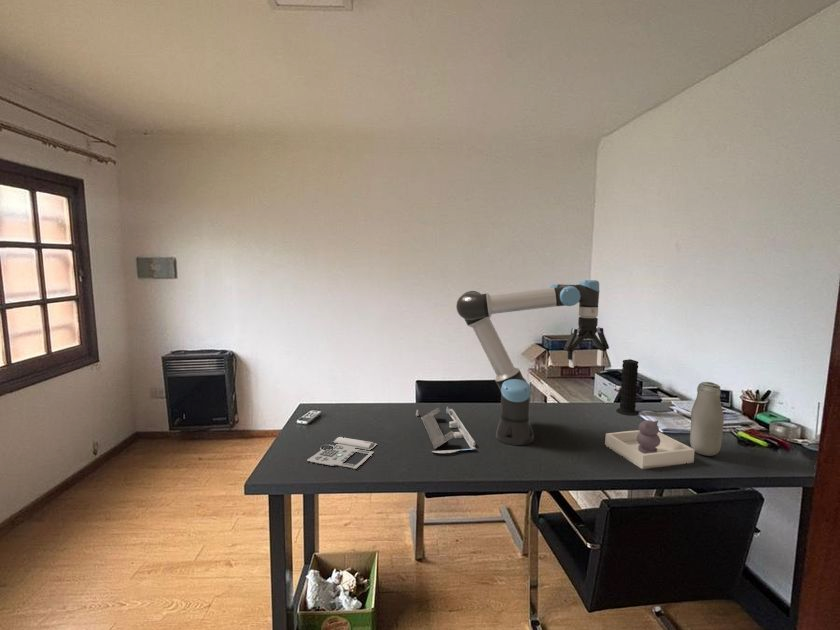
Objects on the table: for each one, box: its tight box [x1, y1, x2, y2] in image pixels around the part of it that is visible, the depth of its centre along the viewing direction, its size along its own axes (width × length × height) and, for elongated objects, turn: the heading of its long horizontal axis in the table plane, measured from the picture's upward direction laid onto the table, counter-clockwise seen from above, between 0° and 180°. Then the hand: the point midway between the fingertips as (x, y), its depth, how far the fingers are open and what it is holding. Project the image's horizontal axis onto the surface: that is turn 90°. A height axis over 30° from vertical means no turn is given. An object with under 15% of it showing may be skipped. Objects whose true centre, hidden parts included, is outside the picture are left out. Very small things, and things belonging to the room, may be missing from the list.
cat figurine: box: [636, 419, 660, 454], centre depth 159 cm, size 8×8×12 cm
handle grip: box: [615, 358, 639, 417], centre depth 203 cm, size 10×26×10 cm
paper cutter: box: [415, 406, 477, 454], centre depth 179 cm, size 18×45×6 cm, turn 9°
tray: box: [604, 429, 696, 470], centre depth 159 cm, size 22×20×5 cm
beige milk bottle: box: [689, 381, 725, 457], centre depth 158 cm, size 10×10×28 cm
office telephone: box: [306, 436, 378, 470], centre depth 159 cm, size 23×3×20 cm
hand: (585, 366), depth 178 cm, fingers open, 13 cm apart
